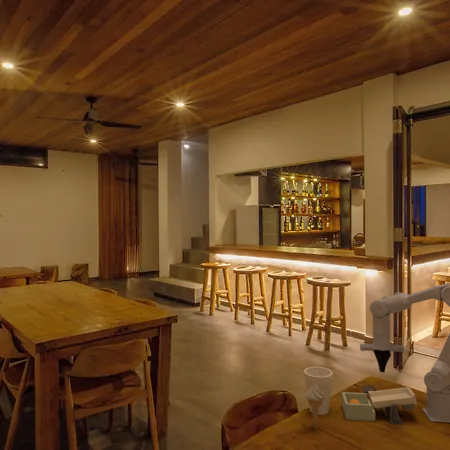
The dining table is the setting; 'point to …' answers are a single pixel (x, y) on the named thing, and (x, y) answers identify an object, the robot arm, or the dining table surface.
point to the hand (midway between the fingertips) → (382, 371)
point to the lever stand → (392, 414)
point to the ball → (354, 401)
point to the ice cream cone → (315, 400)
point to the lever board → (391, 397)
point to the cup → (357, 407)
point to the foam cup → (320, 385)
